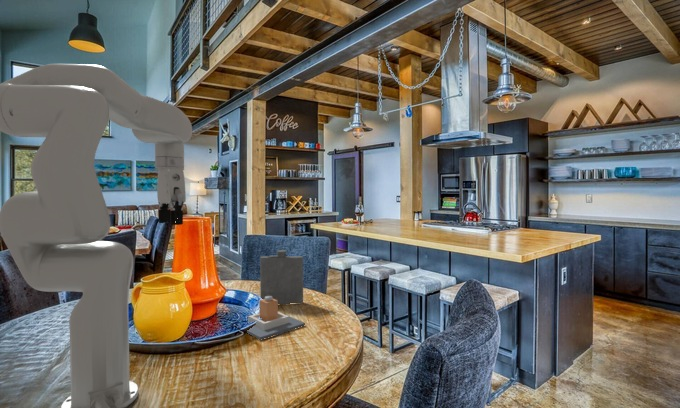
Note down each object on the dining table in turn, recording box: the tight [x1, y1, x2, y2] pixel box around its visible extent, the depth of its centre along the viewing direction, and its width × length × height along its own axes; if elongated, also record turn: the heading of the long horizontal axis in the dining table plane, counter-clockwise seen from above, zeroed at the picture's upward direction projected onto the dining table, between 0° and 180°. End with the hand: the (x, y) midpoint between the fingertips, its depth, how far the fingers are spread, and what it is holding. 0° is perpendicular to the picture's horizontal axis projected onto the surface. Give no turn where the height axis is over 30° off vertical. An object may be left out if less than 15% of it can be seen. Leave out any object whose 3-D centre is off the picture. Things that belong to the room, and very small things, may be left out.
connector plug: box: [258, 296, 279, 322], centre depth 110 cm, size 4×4×8 cm
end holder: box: [246, 311, 306, 341], centre depth 110 cm, size 16×16×3 cm
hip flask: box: [259, 249, 304, 304], centre depth 132 cm, size 16×4×20 cm, turn 92°
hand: (170, 223), depth 103 cm, fingers open, 9 cm apart
